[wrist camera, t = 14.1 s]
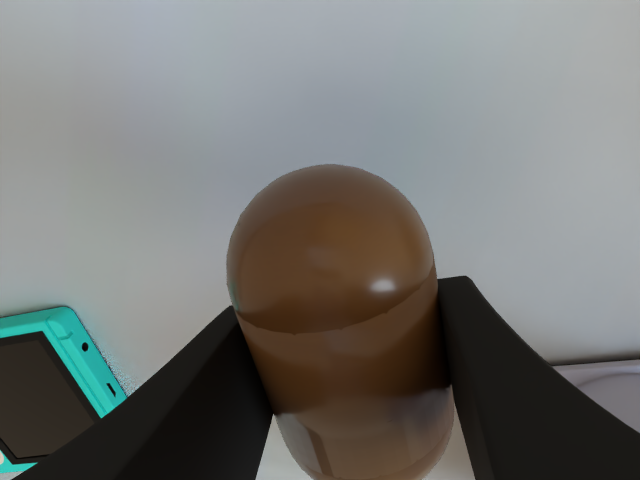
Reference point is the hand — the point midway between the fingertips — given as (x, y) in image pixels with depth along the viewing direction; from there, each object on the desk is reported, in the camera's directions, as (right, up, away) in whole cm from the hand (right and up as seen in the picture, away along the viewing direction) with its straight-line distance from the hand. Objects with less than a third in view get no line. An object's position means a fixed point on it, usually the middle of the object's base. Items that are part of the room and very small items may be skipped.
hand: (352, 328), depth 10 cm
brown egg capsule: (0, +1, +1) cm, 2 cm away
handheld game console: (-19, -7, +17) cm, 26 cm away
